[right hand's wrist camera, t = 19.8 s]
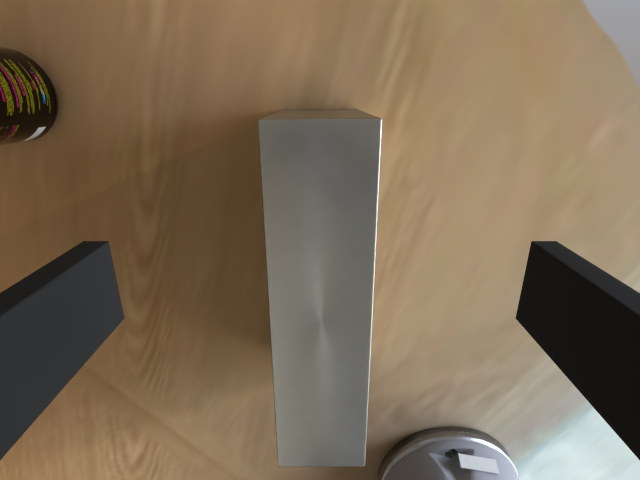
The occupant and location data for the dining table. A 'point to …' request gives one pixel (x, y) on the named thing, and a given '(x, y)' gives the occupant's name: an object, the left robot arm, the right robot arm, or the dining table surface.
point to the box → (320, 278)
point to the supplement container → (24, 98)
